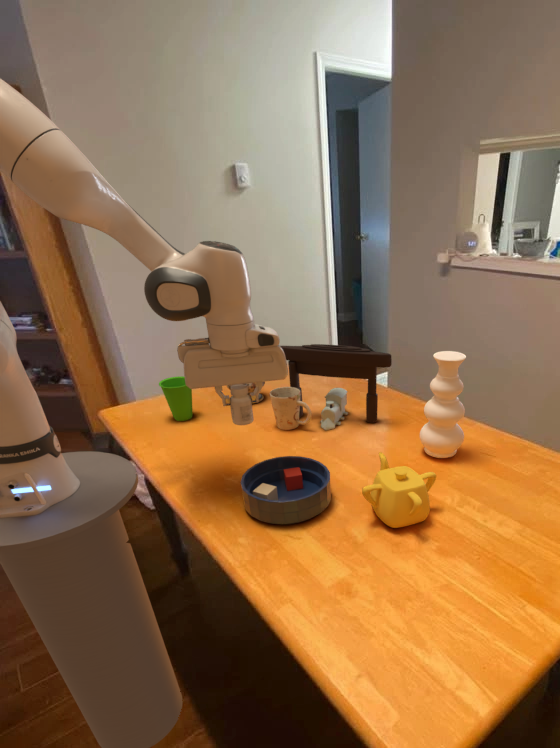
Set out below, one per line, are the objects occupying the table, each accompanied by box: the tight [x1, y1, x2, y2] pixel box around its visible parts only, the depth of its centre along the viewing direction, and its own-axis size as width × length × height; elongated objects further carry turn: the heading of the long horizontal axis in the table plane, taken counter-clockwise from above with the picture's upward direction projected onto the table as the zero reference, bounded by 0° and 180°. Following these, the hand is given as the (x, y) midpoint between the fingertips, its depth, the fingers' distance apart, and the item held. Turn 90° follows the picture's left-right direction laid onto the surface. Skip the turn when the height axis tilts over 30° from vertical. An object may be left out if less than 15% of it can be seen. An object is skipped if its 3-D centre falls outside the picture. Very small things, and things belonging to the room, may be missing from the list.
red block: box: [284, 467, 303, 491], centre depth 101 cm, size 4×4×4 cm
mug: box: [269, 386, 313, 431], centre depth 127 cm, size 8×13×10 cm, turn 64°
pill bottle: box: [229, 384, 255, 426], centre depth 96 cm, size 4×4×8 cm
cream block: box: [253, 483, 278, 500], centre depth 95 cm, size 4×4×4 cm
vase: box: [419, 350, 467, 459], centre depth 110 cm, size 11×11×25 cm
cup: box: [158, 375, 194, 422], centre depth 133 cm, size 9×9×11 cm
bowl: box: [239, 455, 332, 525], centre depth 96 cm, size 18×18×6 cm
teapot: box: [361, 451, 437, 529], centre depth 91 cm, size 14×13×10 cm
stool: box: [280, 343, 393, 432], centre depth 129 cm, size 16×21×33 cm
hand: (241, 403), depth 96 cm, fingers closed on pill bottle, 4 cm apart
